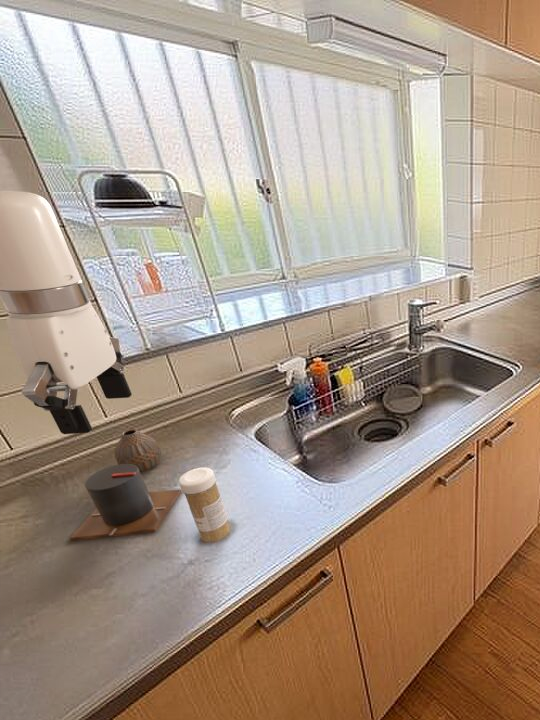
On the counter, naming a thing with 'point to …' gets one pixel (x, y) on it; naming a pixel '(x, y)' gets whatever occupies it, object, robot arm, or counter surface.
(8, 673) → the counter surface
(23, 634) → the counter surface
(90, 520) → the wooden board
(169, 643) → the counter surface
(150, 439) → the vase
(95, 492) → the knob
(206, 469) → the sprinkles bottle
